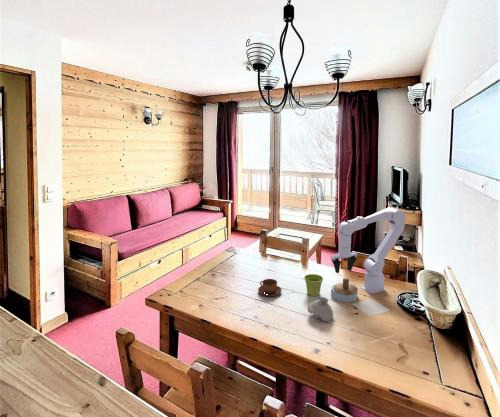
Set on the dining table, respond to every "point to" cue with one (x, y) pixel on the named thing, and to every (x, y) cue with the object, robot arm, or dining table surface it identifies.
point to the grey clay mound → (321, 309)
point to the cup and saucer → (269, 287)
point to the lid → (345, 288)
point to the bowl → (343, 296)
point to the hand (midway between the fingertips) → (343, 271)
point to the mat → (371, 307)
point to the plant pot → (313, 284)
